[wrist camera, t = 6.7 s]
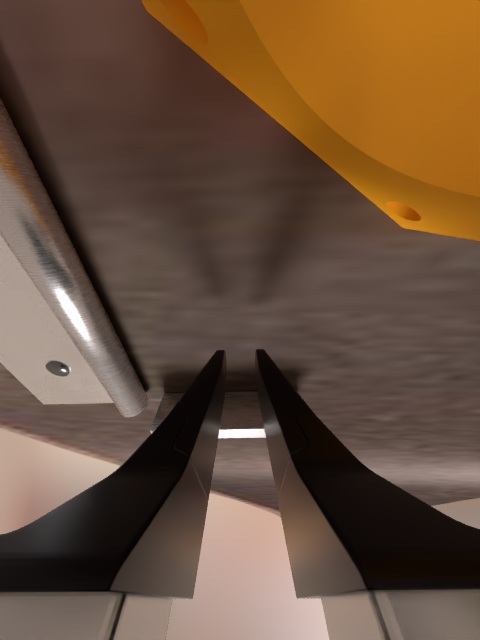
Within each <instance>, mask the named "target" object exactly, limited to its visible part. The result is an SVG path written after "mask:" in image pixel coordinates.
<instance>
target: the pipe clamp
mask: <svg viewBox="0 0 480 640" xmlns="http://www.w3.org/2000/svg"><path fill="white" fill-rule="evenodd" d="M141 1H142V3H143V5H144V7H145V9H146V11H147V12H148V13H150V14H151V15H152V16H153V17H154V18H156V19H157V20H158V21H159V22H160V23H161V24H163V25H164V26H165V27H166V28H167V29H169V30H170V31H171V32H172V33H173V34H174V35H176V36H177V37H178V38H179V39H180V40H182V41H183V42H184V43H185V44H186V45H187V46H189V47H190V48H191V49H192V50H193V51H195V52H196V53H197V54H198V55H199V56H200V57H202V58H203V59H204V60H205V61H206V62H208V63H209V64H210V65H211V66H212V67H213V68H215V69H216V70H217V71H218V72H219V73H221V74H222V75H223V76H224V77H225V78H226V79H228V80H229V81H230V82H231V83H232V84H233V85H235V86H236V87H237V88H238V89H239V90H241V91H242V92H243V93H244V94H245V95H246V96H248V97H249V98H250V99H251V100H252V101H254V102H255V103H256V104H257V105H258V106H259V107H261V108H262V109H263V110H264V111H265V112H267V113H268V114H269V115H270V116H271V117H272V118H274V119H275V120H276V121H277V122H278V123H280V124H281V125H282V126H283V127H284V128H285V129H287V130H288V131H289V132H290V133H291V134H293V135H294V136H295V137H296V138H297V139H298V140H300V141H301V142H302V143H303V144H304V145H306V146H307V147H308V148H309V149H310V150H311V151H313V152H314V153H315V154H316V155H317V156H319V157H320V158H321V159H322V160H323V161H324V162H326V163H327V164H328V165H329V166H330V167H332V168H333V169H334V170H335V171H336V172H337V173H339V174H340V175H341V176H342V177H343V178H345V179H346V180H347V181H348V182H349V183H350V184H352V185H353V186H354V187H355V188H356V189H358V190H359V191H360V192H361V193H362V194H363V195H365V196H366V197H367V198H368V199H369V200H371V201H372V202H373V203H374V204H375V205H376V206H378V207H379V208H380V209H381V210H382V211H384V212H385V213H386V214H387V215H388V216H389V217H391V218H392V219H393V220H394V221H395V222H396V223H398V224H399V225H400V226H401V227H402V228H406V229H411V230H417V231H423V232H429V233H435V234H441V235H447V236H453V237H459V238H465V239H471V240H477V241H480V0H141Z"/></svg>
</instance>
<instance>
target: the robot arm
mask: <svg viewBox="0 0 480 640" xmlns="http://www.w3.org/2000/svg"><path fill="white" fill-rule="evenodd" d="M255 365H256V380H257V392H258V398H259V404H260V409H261V414H262V419H263V424H264V430H265V435H266V440H267V445H268V450H269V456H270V461H271V466H272V471H273V477H274V482H275V487H276V492H277V497H278V501H279V502H278V503H279V508H280V513H281V518H282V524H283V529H284V534H285V539H286V544H287V549H288V554H289V560H290V565H291V570H292V575H293V581H294V586H295V591H296V596H297V598H321V600H322V604H323V609H324V614H325V619H326V624H327V629H328V634H329V638H330V640H480V529H477V528H474V527H471V526H468V525H465V524H463V523H461V522H458V521H456V520H454V519H452V518H451V517H449V516H447V515H445V514H443V513H441V512H440V511H438V510H436V509H435V508H433V507H431V506H430V505H428V504H426V503H425V502H423V501H421V500H420V499H418V498H416V497H414V496H413V495H411V494H409V493H408V492H406V491H404V490H403V489H401V488H399V487H398V486H396V485H394V484H392V483H391V482H389V481H387V480H386V479H384V478H382V477H381V476H379V475H377V474H376V473H374V472H373V471H371V470H370V469H368V468H367V467H366V466H365V465H363V464H362V463H361V462H360V461H359V460H358V459H357V458H356V457H355V456H354V455H353V454H352V453H351V452H350V451H349V450H348V449H347V448H346V447H345V446H344V445H343V444H342V443H341V442H340V441H339V440H338V438H337V437H336V436H335V435H334V434H333V433H332V432H331V431H330V430H329V429H328V428H327V427H326V426H325V425H324V424H323V423H322V422H321V420H320V419H319V418H318V417H317V416H316V415H315V414H314V412H313V411H312V410H311V409H310V408H309V406H308V405H307V404H306V403H305V401H304V400H303V399H302V398H301V396H300V395H299V394H298V392H297V391H296V390H295V389H294V387H293V386H292V385H291V383H290V382H289V381H288V380H287V378H286V377H285V376H284V375H283V373H282V372H281V371H280V369H279V368H278V367H277V366H276V364H275V363H274V362H273V360H272V359H271V358H270V357H269V355H268V354H267V353H266V352H265V350H264V349H257V350H256V357H255ZM225 386H226V355H225V351H224V350H217V351H216V352H215V354H214V355H213V356H212V358H211V359H210V360H209V362H208V363H207V364H206V365H205V367H204V368H203V369H202V371H201V372H200V373H199V375H198V376H197V377H196V379H195V380H194V381H193V383H192V384H191V385H190V387H189V388H188V389H187V391H186V392H185V393H184V395H183V396H182V397H181V399H180V400H179V402H177V404H176V405H175V406H174V408H173V409H172V410H171V412H170V413H169V414H168V415H167V417H166V418H165V419H164V420H163V421H162V422H161V424H160V425H159V426H158V427H157V428H156V429H155V430H154V431H153V433H152V434H151V435H150V436H149V437H148V438H147V439H146V440H145V441H144V442H143V443H142V445H141V446H140V447H139V448H138V449H137V450H136V451H135V452H134V453H133V454H132V455H131V456H130V458H129V459H128V460H127V461H126V462H125V463H124V464H123V465H122V466H120V467H119V468H118V469H117V470H116V471H115V472H113V473H112V474H111V475H109V476H108V477H107V478H105V479H103V480H102V481H100V482H98V483H97V484H95V485H93V486H92V487H90V488H89V489H87V490H85V491H84V492H82V493H80V494H79V495H77V496H75V497H74V498H72V499H71V500H69V501H67V502H65V503H64V504H62V505H61V506H59V507H57V508H56V509H54V510H52V511H51V512H49V513H47V514H46V515H44V516H42V517H41V518H39V519H38V520H36V521H34V522H32V523H30V524H28V525H26V526H24V527H22V528H20V529H18V530H15V531H12V532H10V533H7V534H1V535H0V640H166V634H167V629H168V623H169V617H170V610H171V605H172V599H193V593H194V587H195V581H196V575H197V569H198V562H199V556H200V549H201V543H202V537H203V530H204V525H205V518H206V512H207V505H208V499H209V493H210V486H211V480H212V474H213V467H214V461H215V455H216V448H217V442H218V436H219V429H220V423H221V417H222V410H223V404H224V398H225Z"/></svg>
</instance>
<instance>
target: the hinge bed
mask: <svg viewBox="0 0 480 640" xmlns="http://www.w3.org/2000/svg"><path fill="white" fill-rule="evenodd" d="M0 363H2V364H3V365H4V366H5V367H6V368H7V369H8V370H9V371H10V372H11V373H12V374H13V375H14V376H15V377H16V378H17V379H18V380H19V381H20V382H21V383H22V384H23V385H24V386H25V387H26V388H27V389H28V390H29V391H30V392H31V393H32V394H34V395H35V396H36V397H37V398H38V399H39V400H40V401H41V402H42V403H43V404H81V403H114V404H115V405H116V407H117V408H118V410H119V411H120V413H121V414H122V415H123V416H124V417H133V416H136V415H138V414H139V413H141V412H142V411H143V410H144V409H145V408H146V406H147V404H148V396H147V394H146V392H145V390H144V388H143V386H142V384H141V382H140V380H139V378H138V376H137V374H136V372H135V370H134V368H133V366H132V364H131V362H130V360H129V358H128V356H127V354H126V352H125V350H124V348H123V346H122V344H121V342H120V340H119V338H118V336H117V334H116V332H115V329H114V327H113V325H112V323H111V321H110V319H109V317H108V315H107V313H106V311H105V309H104V307H103V305H102V303H101V301H100V299H99V297H98V295H97V293H96V291H95V289H94V287H93V285H92V283H91V281H90V279H89V277H88V275H87V273H86V271H85V269H84V267H83V264H82V262H81V260H80V258H79V256H78V254H77V252H76V250H75V248H74V246H73V244H72V242H71V240H70V238H69V236H68V234H67V232H66V230H65V228H64V226H63V224H62V222H61V220H60V218H59V216H58V214H57V212H56V210H55V208H54V206H53V204H52V202H51V200H50V197H49V195H48V193H47V191H46V189H45V187H44V185H43V183H42V181H41V179H40V177H39V175H38V173H37V171H36V169H35V167H34V165H33V163H32V161H31V159H30V157H29V155H28V153H27V151H26V149H25V147H24V145H23V143H22V141H21V139H20V137H19V135H18V132H17V130H16V128H15V126H14V124H13V122H12V120H11V118H10V116H9V114H8V112H7V110H6V108H5V106H4V104H3V102H2V100H1V98H0ZM296 391H297V390H296ZM183 395H184V393H164V395H163V398H162V401H161V403H160V406H159V408H158V411H157V413H156V416H155V419H154V421H153V424H152V426H151V429H150V432H151V434H152V433H153V431H154V430H155V429H156V428H157V427H158V426H159V425H160V424H161V422H162V421H163V420H164V419H165V418H166V417H167V415H168V414H169V413H170V412H171V410H172V409H173V408H174V406H175V405H176V404H177V402H179V400H180V399H181V397H182V396H183ZM257 437H266V435H265V430H264V424H263V419H262V414H261V409H260V404H259V398H258V392H257V391H245V392H225V398H224V404H223V410H222V417H221V423H220V429H219V436H218V438H257Z"/></svg>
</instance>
